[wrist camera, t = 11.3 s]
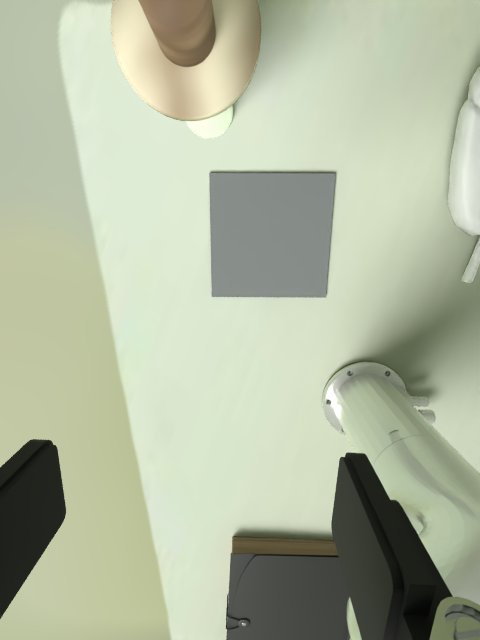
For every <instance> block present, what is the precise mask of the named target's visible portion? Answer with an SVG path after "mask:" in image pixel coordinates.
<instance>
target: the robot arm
mask: <svg viewBox="0 0 480 640" xmlns="http://www.w3.org/2000/svg"><path fill="white" fill-rule="evenodd" d="M348 371H349V372H348ZM428 405H429V400H428V398H427V397H411V395H409V394H408V393H407V392H406V387H405V385H404V383H403V381H402V379H401V378H400V377H399V376H398V374H396V373H395V372H394V371H393V370H392V369H390V368H389V367H387V366H385V365H383V364H380V363H375V362H359V363H354V364H351V365H349V366H346V367H345V368H343V369H341V370H340V371H338V372H337V373H336V374H335V375H334V376H333V377H332V378H331V379H330V380H329V382H328V383H327V385H326V387H325V390H324V392H323V397H322V407H323V411H324V414H325V416H326V418H327V420H328V422H329V423H330V424H331V426H332V427H333V428H335V429H336V430H337V431H339V432H340V433H342V434H344V435H346V436H347V438H348V440H349V442H350V444H351V446H352V447H353V449H354V451H355V453H346V455H345V457H341V458H340V461H339V469H338V477H337V484H336V492H335V500H334V508H333V515H332V534H333V538H334V542H335V546H336V549H337V553H338V556H339V560H340V563H341V567H342V571H343V574H344V578H345V581H346V585H347V588H348V592H349V596H350V597H349V600H348V604H347V625H348V630H349V634H350V638H351V640H480V473H479V472H478V471H477V470H476V469H475V468H474V467H473V466H471V465H470V464H469V463H468V462H467V461H466V460H465V459H464V458H463V457H462V456H461V455H460V454H459V453H458V451H457V450H456V449H455V448H454V447H453V446H452V445H450V444H449V443H448V442H447V441H446V440H445V439H444V437H443V436H442V435H441V434H440V433H439V432H438V431H437V430H436V429H435V428H434V427H433V426H432V425H431V424H433V423H435V414H434V412H433V411H432V410H416V409H415V408H414V407H413V406H428ZM62 486H63V485H62V479H61V471H60V464H59V457H58V450H57V447H56V445H53V443H52V441H50V440H35V439H33V440H30V441H29V442H27V443H26V444H25V445H24V446H23V447H22V448H21V449H20V450H19V451H18V452H16V453H15V454H14V455H13V456H12V457H11V458H10V459H9V460H8V461H7V462H6V463H5V464H4V465H2V467H0V619H1V617H2V615H3V614H4V612H5V611H6V609H7V608H8V606H9V604H10V603H11V601H12V600H13V599H14V597H15V595H16V594H17V592H18V591H19V589H20V588H21V586H22V585H23V583H24V582H25V580H26V579H27V577H28V575H29V574H30V572H31V571H32V569H33V568H34V566H35V565H36V563H37V562H38V560H39V559H40V557H41V555H42V554H43V552H44V551H45V549H46V548H47V546H48V545H49V543H50V542H51V540H52V539H53V537H54V535H55V534H56V532H57V531H58V529H59V528H60V526H61V525H62V523H63V521H64V518H65V515H66V507H65V500H64V493H63V487H62ZM416 531H417V532H419V533H420V534H419V535H418V534H417V532H416Z"/></svg>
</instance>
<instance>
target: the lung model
mask: <svg viewBox="0 0 480 640" xmlns="http://www.w3.org/2000/svg"><path fill="white" fill-rule="evenodd" d="M448 206H449V209H450V212H451V215H452V218H453V221H454V224H455V225H456V226H457V227H459V228H460V229H462V230H463V231H464V232H466V233H467V234H468V235H480V66H479V67H478V68H477V70H476V72H475V74H474V75H473V77H472V79H471V81H470V83H469V92H468V100H466V101H465V102H464V104H463V106H462V108H461V110H460V112H459V117H458V122H457V128H456V133H455V139H454V144H453V150H452V156H451V162H450V177H449V192H448ZM479 266H480V237H479V240H478V242H477V244H476V248H475V249H474V252H473V253H472V256H471V258H470V261H469V263H468V266H467V267H466V270H465V272H464V274H463V277H462V279H461V280H462V281H463V282H466V283H472V282H473V280H474V278H475V275H476V273H477V270H478V268H479Z"/></svg>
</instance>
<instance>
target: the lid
mask: <svg viewBox="0 0 480 640" xmlns="http://www.w3.org/2000/svg"><path fill="white" fill-rule="evenodd" d="M111 34H112V41H113V46H114V50H115V54H116V57H117V60H118V62H119V65H120V67H121V69H122V71H123V73H124V75H125V77H126V78H127V80H128V81H129V83H130V84H131V86H132V87H133V89H134V90H135V91H136V92H137V94H138V95H139V96H140V97H141V98H142V99H143V100H144V101H145V102H146V103H147V104H148V105H149V106H150V107H152V108H153V109H155V110H156V111H157V112H159V113H161V114H163V115H165V116H167V117H170V118H173V119H177V120H182V121H201V120H205V119H209V118H212V117H214V116H217V115H219V114H220V113H222V112H224V111H225V110H227V109H228V108H229V107H231V106H232V105H233V104H234V103H235V102H236V101H237V100H238V99H239V98H240V96H241V95H242V94H243V92H244V91H245V90H246V88H247V86H248V84H249V83H250V81H251V78H252V76H253V74H254V71H255V68H256V64H257V61H258V55H259V49H260V36H261V23H260V14H259V7H258V3H257V0H113V4H112V11H111Z"/></svg>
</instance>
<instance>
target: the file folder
mask: <svg viewBox="0 0 480 640" xmlns="http://www.w3.org/2000/svg"><path fill="white" fill-rule="evenodd" d="M349 597H350V596H349V592H348V588H347V585H346V581H345V578H344V574H343V571H342V567H341V563H340V560H339V556H338V553H337V549H336V546H335V542H334V541H321V540H302V539H275V538H247V537H232V553H231V562H230V581H229V601H228V595H227V614H226V629H227V640H350V634H349V630H348V625H347V604H348V600H349ZM227 616H228V621H227Z"/></svg>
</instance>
